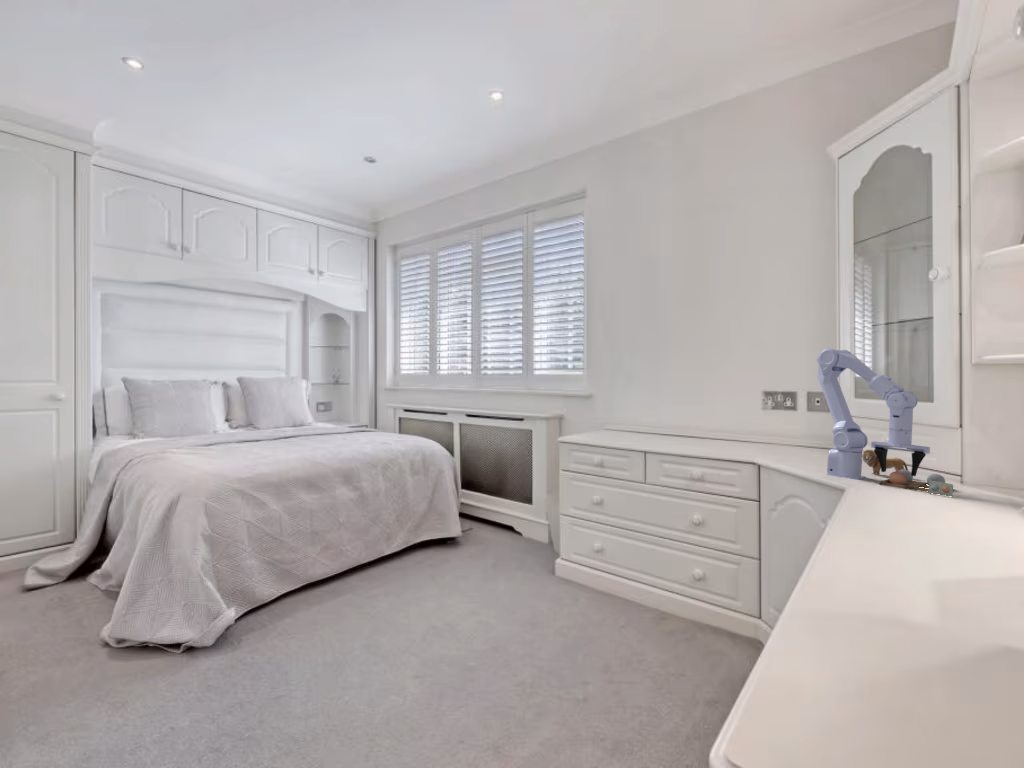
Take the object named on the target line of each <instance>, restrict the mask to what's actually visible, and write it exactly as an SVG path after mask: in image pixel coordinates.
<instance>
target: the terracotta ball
mask: <svg viewBox="0 0 1024 768" xmlns="http://www.w3.org/2000/svg"><path fill="white" fill-rule="evenodd" d="M888 479H889V480H890V482H891V483H893V484H899V485H903V484H905V483H906V481H907V478H906V476H905V474H903V473H902V472H899V471H896V470H895V471H892V472H891V473H890V474H889V475H888Z"/></svg>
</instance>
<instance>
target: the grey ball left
mask: <svg viewBox="0 0 1024 768" xmlns="http://www.w3.org/2000/svg"><path fill="white" fill-rule="evenodd" d="M904 469H905V468H904ZM904 469H902V470H899V472H902V473H903V474H905V476H906V478H907V481H906V482H907V483H909V482H911V481H912V480H913V478H914V476H911V471H909V469H908V470H906V469H905V470H904Z"/></svg>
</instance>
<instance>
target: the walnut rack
mask: <svg viewBox="0 0 1024 768" xmlns="http://www.w3.org/2000/svg"><path fill="white" fill-rule="evenodd" d="M926 484H928V483H927V481H918V480H913V479H912V481H911V482H909V483H907V482H906V483H905V484H903V485H899V484H893V483H891V482H890V480H889V478H887V479H884V480H881V481H879V485H880V486H887V487H893V488H899V489H905V490H913V491H917V490H921V491H920V492H923V491H928V492H927V493H929V489H925V488H929V486H927V485H926ZM928 485H929V484H928ZM919 487H924V488H919Z"/></svg>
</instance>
